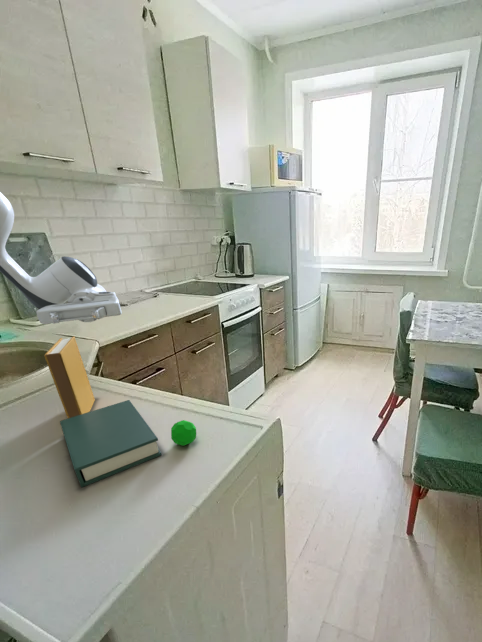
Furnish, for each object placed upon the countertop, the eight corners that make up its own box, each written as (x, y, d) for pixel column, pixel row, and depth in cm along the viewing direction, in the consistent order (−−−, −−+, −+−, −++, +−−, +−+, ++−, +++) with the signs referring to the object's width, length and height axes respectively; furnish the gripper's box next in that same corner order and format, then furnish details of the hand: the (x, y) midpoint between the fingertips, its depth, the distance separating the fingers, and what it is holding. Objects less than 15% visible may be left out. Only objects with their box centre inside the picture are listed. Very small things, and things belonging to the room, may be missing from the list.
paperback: (82, 401, 90) (60, 338, 82) (95, 399, 90) (74, 336, 83) (70, 425, 79) (44, 355, 72) (84, 423, 80) (60, 353, 73)
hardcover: (65, 436, 75) (59, 421, 73) (133, 414, 82) (129, 399, 81) (81, 487, 61) (74, 469, 59) (161, 455, 68) (157, 437, 66)
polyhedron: (178, 453, 68) (173, 432, 66) (169, 441, 72) (164, 422, 70) (202, 443, 71) (198, 423, 69) (192, 433, 74) (188, 413, 72)
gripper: (42, 299, 98) (24, 310, 86) (120, 291, 103) (113, 301, 91) (50, 321, 101) (33, 335, 89) (126, 312, 106) (120, 324, 94)
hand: (74, 317), depth 90 cm, fingers open, 8 cm apart
